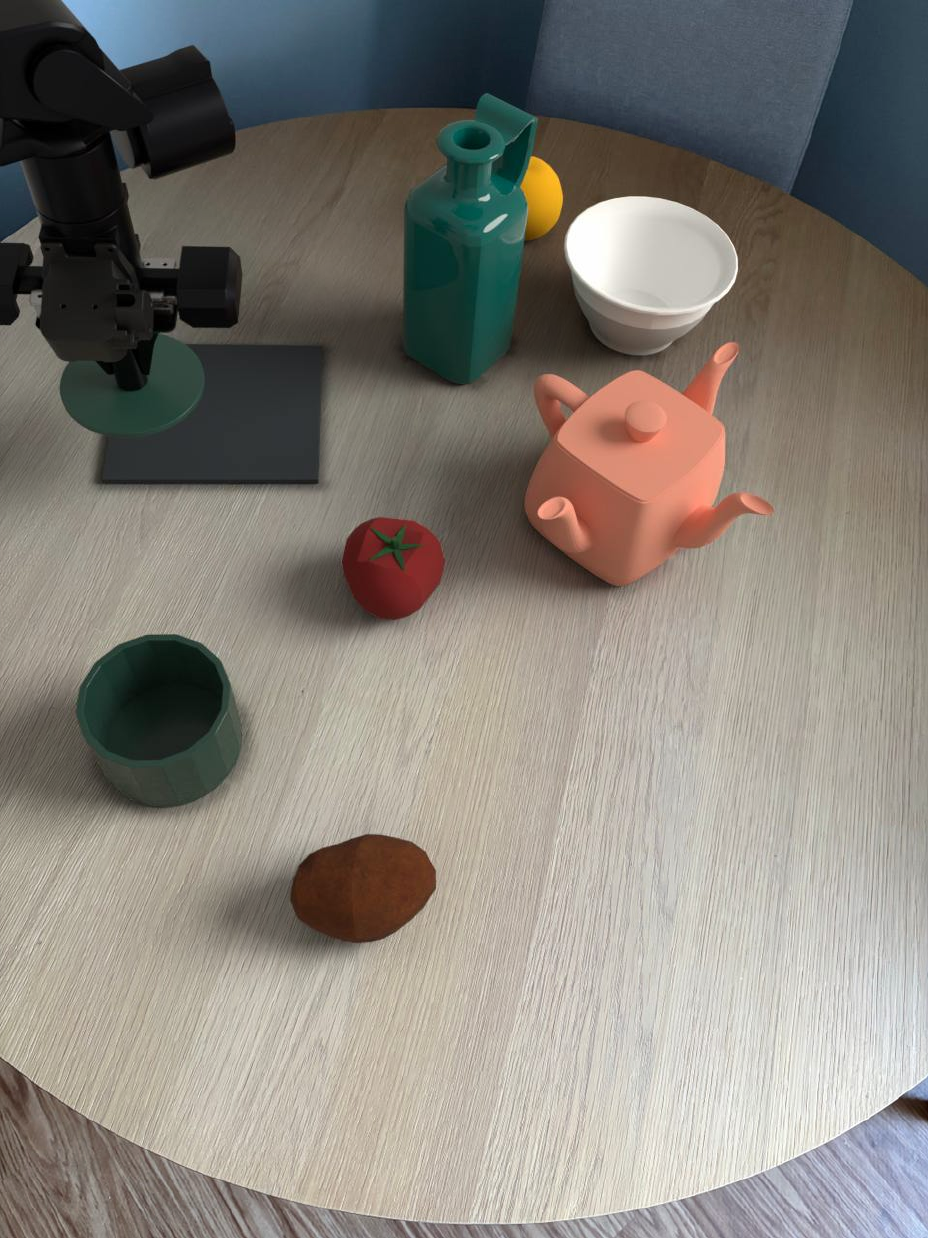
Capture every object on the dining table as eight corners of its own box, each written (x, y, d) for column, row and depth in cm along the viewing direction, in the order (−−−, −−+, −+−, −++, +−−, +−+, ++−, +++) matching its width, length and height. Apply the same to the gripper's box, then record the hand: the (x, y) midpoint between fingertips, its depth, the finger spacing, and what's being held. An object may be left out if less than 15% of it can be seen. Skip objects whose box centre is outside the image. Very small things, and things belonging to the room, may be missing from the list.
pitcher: (465, 393, 96) (483, 183, 77) (393, 350, 98) (394, 135, 80) (526, 336, 100) (557, 123, 82) (456, 296, 103) (471, 80, 84)
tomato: (453, 566, 86) (458, 512, 80) (421, 646, 82) (423, 595, 76) (361, 539, 87) (359, 483, 81) (325, 616, 83) (320, 564, 77)
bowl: (705, 273, 107) (728, 200, 100) (722, 387, 98) (749, 317, 91) (550, 263, 106) (561, 189, 99) (553, 377, 98) (566, 306, 91)
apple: (568, 247, 108) (579, 183, 101) (494, 257, 106) (501, 192, 100) (544, 198, 112) (554, 133, 105) (473, 207, 110) (478, 142, 104)
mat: (102, 483, 88) (101, 479, 88) (125, 347, 97) (124, 342, 96) (318, 483, 90) (318, 479, 89) (322, 349, 98) (322, 344, 97)
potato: (304, 845, 73) (297, 810, 67) (437, 855, 73) (441, 822, 68) (289, 947, 69) (280, 919, 64) (430, 957, 69) (433, 931, 64)
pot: (732, 609, 85) (781, 516, 75) (520, 604, 84) (540, 509, 74) (702, 436, 95) (741, 332, 85) (511, 430, 94) (527, 324, 83)
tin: (92, 809, 73) (66, 768, 67) (110, 682, 78) (87, 634, 73) (237, 805, 74) (224, 765, 68) (245, 680, 79) (234, 633, 73)
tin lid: (52, 443, 80) (31, 390, 75) (74, 340, 85) (55, 285, 81) (200, 443, 80) (188, 391, 76) (211, 341, 86) (200, 287, 82)
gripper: (-100, 277, 63) (-15, 450, 76) (216, 282, 64) (245, 451, 78) (-60, 162, 69) (12, 341, 82) (228, 169, 70) (253, 344, 84)
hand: (129, 371), depth 81 cm, fingers closed on tin lid, 2 cm apart
